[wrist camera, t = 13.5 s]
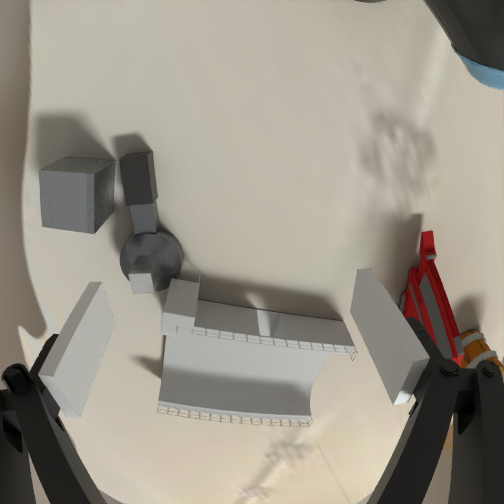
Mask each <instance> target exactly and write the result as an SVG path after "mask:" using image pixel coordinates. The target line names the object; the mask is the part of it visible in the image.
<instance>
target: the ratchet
mask: <svg viewBox="0 0 504 504" xmlns="http://www.w3.org/2000/svg"><path fill="white" fill-rule="evenodd" d="M120 167H121V175H122V182H123V188H124V195H125V201H126V206H129V207H130V213H131V219H132V224H133V230H134V233H133V234H132V235H131V236H130V237H129V239H128V240H127V242H126V244H125V245H124V247H123V248H122V251H121V254H120V266H121V269H122V271H123V273H124V275H125V276H126V278H127V279H128V280H129V281H130V283H131V287H132V291H133V294H144V293H155V291H160V290H164V289H166V288H168V287H169V286H170V282H171V279H172V278H174V279H178V277H179V274H180V271H181V267H182V263H183V250H182V247H181V245H180V243H179V241H178V240H177V239H176V237H175V236H174V235H172V234H171V233H170V232H168V231H167V230H165V229H162V228H159V226H160V225H159V218H158V211H157V203H156V199H157V197H158V195H157V187H156V178H155V169H154V160H153V151H152V152H143V153H135V154H127V155H125V156H123V157H121V158H120Z"/></svg>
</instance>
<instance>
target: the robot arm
mask: <svg viewBox="0 0 504 504" xmlns="http://www.w3.org/2000/svg"><path fill="white" fill-rule="evenodd" d="M355 1H359V2H367V3H376V2H382V1H385V0H355ZM423 1H424V2H425V3H426V5H427V6H428V7H429V9H430V10H431V12H432V13H433V15H434V16H435V18H436V19H437V21H438V22H439V24H440V25H441V27H442V28H443V30H444V32H445V33H446V35H447V36H448V38H449V40H450V41H451V46H452V48H453V49H454V51H455V52H456V53H457V54H458V55H459V56H460V58H461V60H462V61H463V63H464V65H465V66H466V68H467V70H468V71H469V73H470V74H471V75H472V76H473V77H474V78H475V79H476V80H478V81H479V82H480V83H482V84H484V85H486V86H489V87H491V88H495V89H499V90H504V0H423ZM350 313H351V315H352V317H353V319H354V321H355V323H356V325H357V327H358V329H359V331H360V333H361V335H362V338H363V340H364V342H365V344H366V346H367V348H368V350H369V353H370V355H371V357H372V359H373V361H374V363H375V366H376V368H377V370H378V372H379V375H380V377H381V379H382V381H383V384H384V386H385V388H386V390H387V393H388V395H389V397H390V400H391V402H392V404H393V406H394V405H398V404H402V403H406V402H409V400H410V398H411V396H412V394H414V396H415V398H416V401H415V403H414V405H413V407H412V409H411V410H410V412H409V415H410V416H409V418H408V421H407V423H406V425H405V428H404V430H403V432H402V435H401V437H400V439H399V442H398V444H397V446H396V448H395V450H394V452H393V455H392V457H391V459H390V461H389V463H388V465H387V467H386V469H385V471H384V473H383V475H382V477H381V479H380V480H379V482H378V484H377V486H376V488H375V490H374V492H373V493H372V495H371V497H370V499H369V501H368V502H367V504H422V502H423V499H424V497H425V494H426V492H427V490H428V487H429V485H430V482H431V480H432V477H433V474H434V472H435V469H436V466H437V464H438V460H439V458H440V455H441V451H442V449H443V446H444V443H445V439H446V436H447V433H448V429H449V426H450V422H451V419H452V415H453V455H452V471H451V484H450V492H449V501H448V504H504V383H503V378H502V373H501V370H500V368H499V366H498V365H497V364H496V363H494V362H493V361H490V360H482V361H480V362H479V363H478V364H477V366H476V368H460V366H459V365H458V364H457V363H456V362H455V361H453V360H451V359H445V358H444V357H443V355H442V353H441V352H440V350H439V349H438V347H437V346H436V344H435V343H434V341H433V340H432V338H430V335H429V334H428V332H426V329H425V328H424V326H423V325H422V323H421V322H419V321H418V320H417V319H415V318H414V317H413V316H412V317H404V316H403V314H402V313H401V311H400V310H399V308H398V307H397V305H396V304H395V302H394V301H393V299H392V298H391V297H390V295H389V294H388V292H387V291H386V289H385V288H384V286H383V285H382V283H381V282H380V281H379V279H378V278H377V276H376V275H375V273H374V272H373V271H372V269H371V268H366V269H357V275H356V281H355V287H354V293H353V299H352V304H351V310H350ZM114 325H115V320H114V317H113V314H112V311H111V308H110V305H109V302H108V299H107V295H106V292H105V289H104V285H103V282H90V283H89V284H88V286H87V288H86V289H85V291H84V292H83V294H82V296H81V297H80V299H79V301H78V302H77V304H76V306H75V307H74V309H73V311H72V313H71V314H70V316H69V318H68V319H67V321H66V323H65V325H64V326H63V328H62V330H61V332H60V334H53V335H52V336H51V337H50V338H49V339H48V340H47V341H46V343H45V344H44V346H43V348H42V350H41V352H40V353H39V356H38V357H37V359H36V361H35V363H34V365H33V366H32V368H31V370H30V372H28V370H27V369H26V367H25V366H24V365H23V364H20V363H16V364H13V365H11V366H9V367H7V369H6V370H5V371H4V372H3V375H2V382H3V383H4V384H5V386H6V387H7V389H4V390H0V504H36V501H35V495H34V490H33V484H32V478H31V471H30V464H29V455H28V452H29V454H30V457H31V460H32V462H33V465H34V467H35V470H36V472H37V475H38V477H39V480H40V482H41V484H42V486H43V488H44V491H45V493H46V495H47V497H48V500H49V502H50V504H107V503H106V501H105V500H104V498H103V497H102V495H101V494H100V492H99V490H98V489H97V487H96V485H95V484H94V482H93V480H92V479H91V477H90V475H89V473H88V472H87V470H86V468H85V466H84V465H83V463H82V461H81V459H80V457H79V455H78V453H77V452H76V450H75V448H74V446H73V444H72V442H71V440H70V438H69V436H68V434H67V431H66V429H65V427H64V425H63V423H62V421H61V419H60V417H59V416H58V414H59V411H60V409H61V410H62V412H63V413H64V414H65V416H67V417H73V418H79V419H80V418H81V415H82V412H83V409H84V406H85V403H86V400H87V397H88V394H89V391H90V388H91V386H92V383H93V380H94V377H95V374H96V372H97V369H98V366H99V364H100V361H101V358H102V356H103V353H104V350H105V348H106V345H107V343H108V340H109V338H110V335H111V333H112V330H113V328H114Z"/></svg>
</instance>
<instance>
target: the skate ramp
mask: <svg viewBox="0 0 504 504" xmlns="http://www.w3.org/2000/svg"><path fill="white" fill-rule="evenodd" d="M200 276H201V273H200ZM200 276H199V281H198V283H195V282H190V281H184V280H179V279H174V278H172V279H171V282H170V286H169V289H168V293H167V297H166V301H165V304H164V308H163V313H162V323H161V326H162V327H161V334H162V335H166V342H165V353H164V363H163V372H162V380H161V387H160V394H159V400H158V406H160V407H166V408H171V409H178V412H179V410H184V411H190V412H198V413H199V415H196V416H199V418H200V413H205V414H210V421H213V420H211V414H213V415H222V416H230V422H229V423H232V420H234V419H232V417H241V421H245V420H242V418H251V420H252V418H254V419H261V422H262V419H270V421H271V422H270V423H277V422H272V420H289V421H290V420H295V421H299V422H300V421H308V420H309V418H310V417H311V412H310V393H311V388H312V385H313V382H314V380H315V378H316V376H317V374H318V373H319V371H320V369H321V367H322V366H323V364H324V362H325V360H326V358H327V356H328V355H329V353H333V354H347V355H350V354H351V352H352V351H353V349H354V347H355V345H354V343H353V341H352V339H351V336H350V334H349V332H348V329H347V327H346V325H345V323H344V321H337V320H329V319H321V318H313V317H306V316H299V315H291V314H284V313H277V312H270V311H264V310H257V309H251V308H245V307H238V306H232V305H226V304H220V303H214V302H208V301H203V300H198V293H199V286H200ZM355 351H356V348H355ZM356 352H357V351H356ZM354 353H355V352H354ZM354 353H353V354H354ZM356 355H357V354H356ZM352 356H353V355H352ZM350 357H351V355H350ZM354 358H355V357H354ZM351 359H352V357H351ZM353 360H354V359H353ZM353 360H352V361H353ZM159 410H161V409H159ZM165 411H167V413H168V412H169V409H168V410H165ZM157 412H158V410H157ZM170 412H173V411H170ZM178 412H176V413H178ZM158 413H160V412H158ZM163 414H165V413H163ZM183 414H185V413H183ZM169 415H171V414H169ZM190 415H192V414H189V416H188V418H190ZM175 416H177V415H175ZM181 417H184V416H181ZM204 417H207V416H204ZM212 418H215V417H212ZM195 419H198V418H195ZM221 419H224V418H221ZM311 419H312V417H311ZM202 420H205V419H202ZM310 421H311V420H310ZM219 422H222V421H219ZM254 422H259V421H254ZM280 423H281V421H280ZM290 423H291V421H290ZM240 424H244V423H240ZM298 424H299V425H300V424H308V425H309V423H298ZM253 425H258V424H253ZM310 425H311V424H310ZM269 426H276V425H269ZM281 426H282V424H281ZM290 426H291V425H290ZM300 426H301V425H300ZM301 427H309V426H301Z"/></svg>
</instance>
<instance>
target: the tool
mask: <svg viewBox="0 0 504 504" xmlns="http://www.w3.org/2000/svg"><path fill="white" fill-rule="evenodd" d="M419 254H420V255H421V258H420V264H419V267H416V268H411V270H410V271H409V278H408V285H407V291H405V292H404V293H403V294H402V298H401V304H400V311H401V313H402V314H403V316H404V317H412V316H413V317H414V318H415V319H417V320H418V321H419V322H421V323H422V325H423V326H424V328H425V329H426V332H428V334H429V335H430V338H432V340H433V341H434V343H435V344H436V346H437V347H438V349H439V350H440V352H441V353H442V355H443V357H444V358H445V359H451V360H453V361H455V362H456V363H457V364H458V365H459V366H461V360H462V358H463V357H464V350H463V346H462V343H461V339H460V336H459V332H458V329H457V325H456V322H455V319H454V316H453V313H452V310H451V307H450V304H449V301H448V298H447V295H446V292H445V290H444V287H443V284H442V281H441V279H440V276H439V274H438V271H437V268H436V266H435V263H434V260H435V258H436V256H437V255H436V251H435V246H434V237H433V231H426V232H422V233H421V242H420V250H419Z"/></svg>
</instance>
